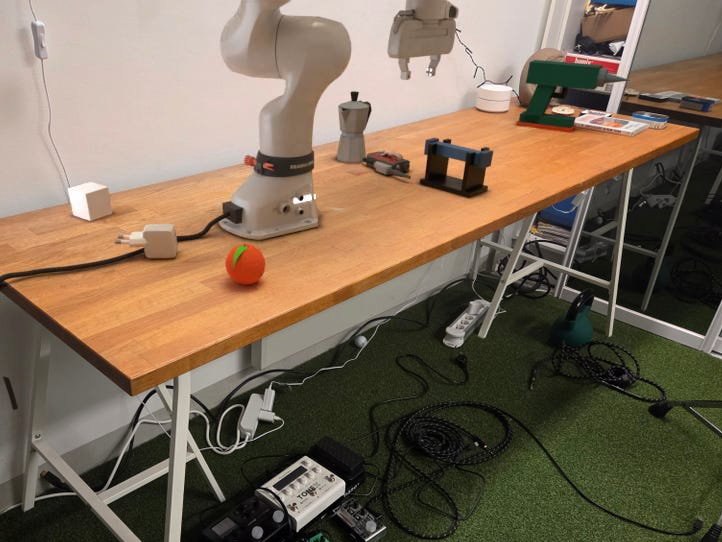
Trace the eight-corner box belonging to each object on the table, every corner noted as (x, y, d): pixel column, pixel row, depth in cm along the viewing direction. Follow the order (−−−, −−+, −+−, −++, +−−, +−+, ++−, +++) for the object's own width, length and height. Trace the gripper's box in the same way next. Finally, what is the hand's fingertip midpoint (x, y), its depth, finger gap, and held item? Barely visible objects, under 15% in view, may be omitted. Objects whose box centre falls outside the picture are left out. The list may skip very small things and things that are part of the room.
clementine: (253, 296, 103) (251, 257, 99) (216, 289, 105) (213, 251, 101) (272, 277, 109) (271, 240, 105) (237, 271, 111) (235, 234, 107)
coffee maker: (351, 166, 168) (355, 96, 158) (325, 161, 172) (327, 92, 162) (379, 155, 178) (384, 89, 168) (354, 150, 182) (358, 85, 172)
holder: (469, 197, 147) (476, 154, 141) (419, 183, 156) (423, 142, 150) (487, 190, 151) (494, 148, 146) (437, 177, 160) (443, 137, 155)
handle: (482, 169, 144) (485, 153, 142) (423, 154, 154) (425, 139, 152) (490, 166, 146) (493, 150, 144) (432, 152, 156) (434, 137, 154)
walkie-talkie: (355, 165, 169) (406, 183, 155) (356, 149, 166) (408, 166, 153) (379, 160, 173) (430, 177, 160) (380, 144, 171) (432, 160, 157)
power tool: (617, 133, 203) (635, 67, 192) (613, 137, 198) (632, 70, 187) (521, 121, 217) (533, 59, 206) (516, 125, 212) (528, 61, 201)
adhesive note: (73, 215, 135) (67, 188, 132) (95, 208, 139) (90, 181, 136) (90, 221, 132) (85, 193, 129) (112, 213, 136) (108, 186, 133)
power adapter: (116, 261, 114) (111, 231, 111) (121, 251, 119) (116, 222, 115) (176, 260, 115) (172, 230, 112) (178, 250, 119) (175, 221, 116)
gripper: (407, 11, 126) (400, 83, 134) (463, 9, 138) (454, 75, 146) (383, 9, 130) (378, 80, 138) (440, 8, 142) (432, 72, 150)
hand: (417, 77), depth 142 cm, fingers open, 8 cm apart
